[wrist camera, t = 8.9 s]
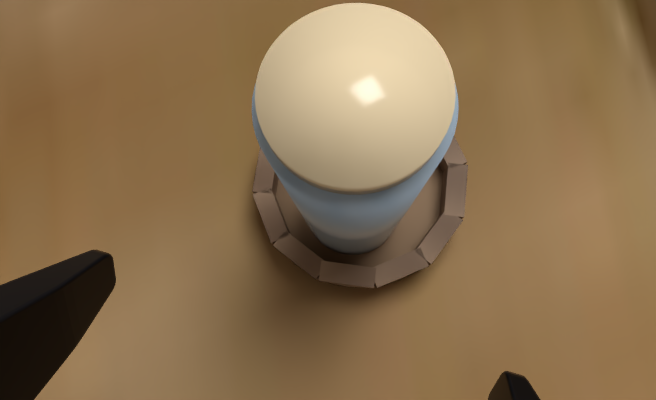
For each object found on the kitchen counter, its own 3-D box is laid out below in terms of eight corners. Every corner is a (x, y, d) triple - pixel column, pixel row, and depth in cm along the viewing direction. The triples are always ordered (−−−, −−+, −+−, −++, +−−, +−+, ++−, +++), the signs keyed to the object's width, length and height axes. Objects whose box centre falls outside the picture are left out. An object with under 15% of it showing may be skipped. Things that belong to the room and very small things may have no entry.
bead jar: (314, 262, 21) (262, 217, 9) (298, 172, 22) (232, 16, 10) (408, 245, 21) (490, 174, 9) (388, 155, 22) (436, -23, 10)
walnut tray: (247, 273, 22) (237, 270, 20) (279, 90, 24) (272, 71, 22) (449, 300, 21) (459, 301, 19) (463, 108, 23) (474, 91, 21)
